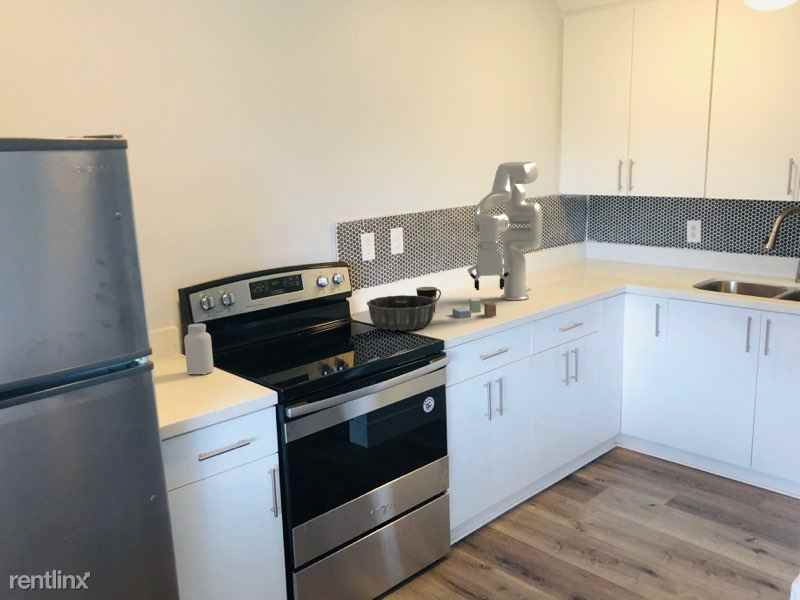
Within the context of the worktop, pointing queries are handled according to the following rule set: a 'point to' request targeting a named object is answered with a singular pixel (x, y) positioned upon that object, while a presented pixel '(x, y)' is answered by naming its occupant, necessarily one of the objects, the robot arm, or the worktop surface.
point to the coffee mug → (428, 293)
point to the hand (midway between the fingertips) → (489, 289)
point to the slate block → (461, 312)
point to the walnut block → (489, 309)
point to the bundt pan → (401, 312)
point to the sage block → (475, 304)
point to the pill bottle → (198, 350)
